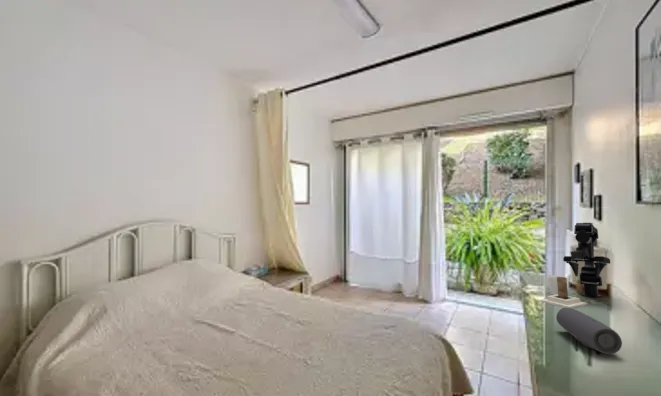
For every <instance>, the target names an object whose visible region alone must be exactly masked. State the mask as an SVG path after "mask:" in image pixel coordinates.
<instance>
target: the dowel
mask: <svg viewBox="0 0 661 396" xmlns="http://www.w3.org/2000/svg"><path fill="white" fill-rule="evenodd" d="M557 286H558V298H561V299H565V300H566V299H568V296H569V295H568V293H569V292H568V281H567V277H566V276H565V277H564V276H562V277H557Z"/></svg>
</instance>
